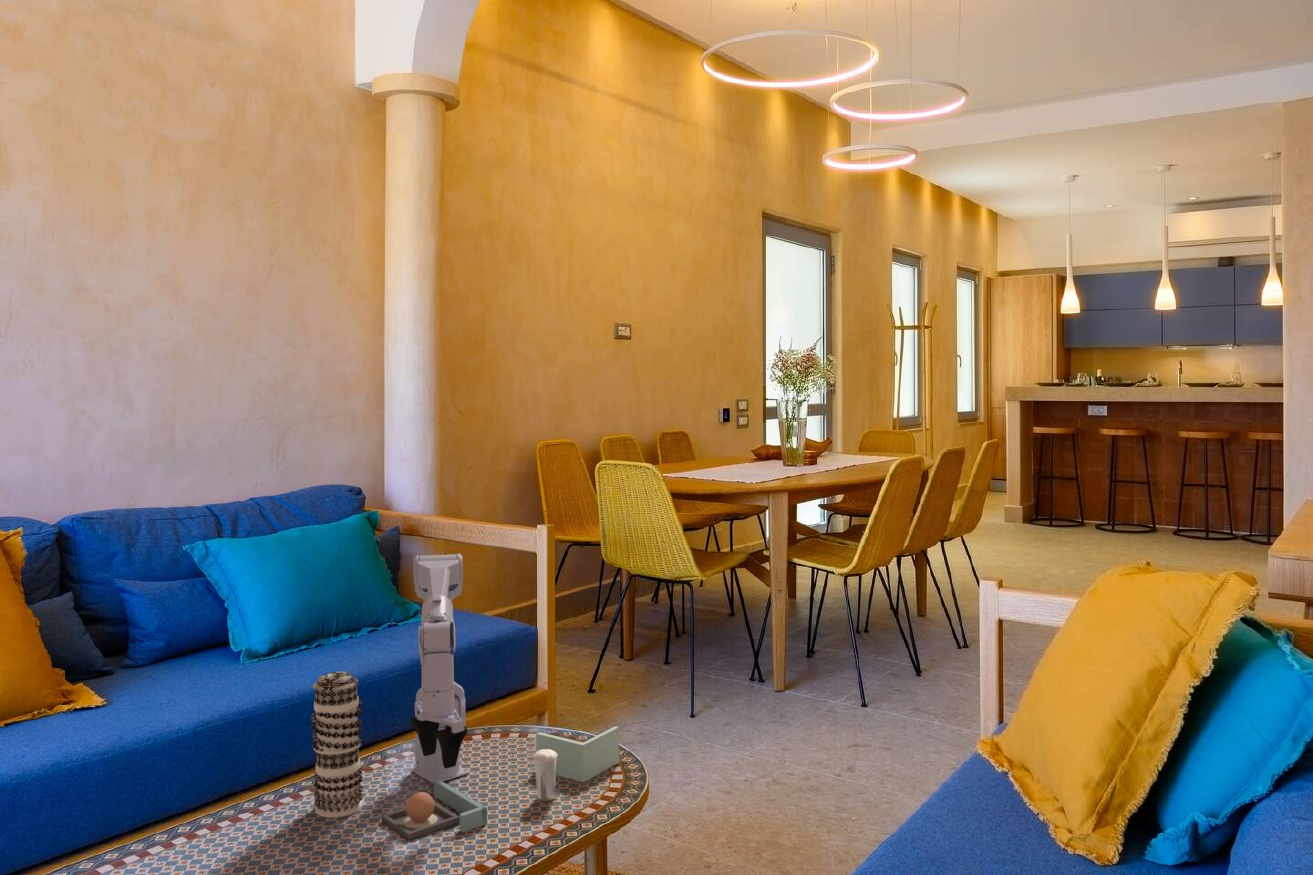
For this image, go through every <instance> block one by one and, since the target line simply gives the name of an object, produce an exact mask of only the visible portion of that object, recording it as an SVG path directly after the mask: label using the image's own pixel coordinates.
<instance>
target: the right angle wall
mask: <svg viewBox="0 0 1313 875" xmlns="http://www.w3.org/2000/svg"><path fill="white" fill-rule="evenodd" d="M619 738H620V728H619V726H613V727H611V728H609V729H607V730H605V731H603V732H602V733H600V734H597V735H596V736H594V737H592V738H589V739H588V740H586V741H582V742H581V741H577V740H575V739H574V740H573V739H570V738H565V737H562V736H557V735H552V734H549V733H545V732H542V731H541V732H540V731H539V732H536V735H535V739H536V741H535V742H536V752H537V751H539V750H542V749H550V750H553V751H555V752H556V753H557V754H558V753H559V754H558V761H557V771H556V776H559V777H563V778H566V779H570V780H573V781H574V780H575V781H577V782H581V783H585V782H587V781H589V780H590V779H592V778H594V777H596V776H598V775H599V774H601V773H603V772H605V771H606V770H608V769H610V768H612V767H614V766H615V765H618V764H619V763H620V739H619ZM560 748H561V750H560ZM559 751H560V752H559Z"/></svg>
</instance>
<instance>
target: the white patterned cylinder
mask: <svg viewBox="0 0 1313 875" xmlns="http://www.w3.org/2000/svg"><path fill="white" fill-rule="evenodd" d="M359 681H360V680H359V679H357V678H355V677H354V676H353V674H351V673H350V672H347V671H332V672H327V673H323V674H322V675H321V676H319V677H318V679H317V681H316V682H314V683H313V684H312V688H313V689H314V702H313V710H314V711H313V713H312V714H311V715H310V716H311V718H310V721H311V727H310V729H311V730H312V731H313V732H312V744H313V745H312V746H311V747H312V748H313V751H314V752H315V753H316V763H315V772H314V775H313V778H314V779H315V781H314V783H313V784H314V785H313V786H314V787H315V790H314V793H313V797H314V798H315V799H314V806H315V809H314V810H315V814H317V815H318V816H319V817H323V818H332V819H333V818H341V817H347V816H350V815H353V814H354V813H357V812H359V811H360V810H361V809H362V807H363V805H364V804H363V799H364V797H363V796H364V794H363V793H362V792H363V788H364V786H363V785H362V782H363V775H362V774H363V767H361V758H360V747H361V746H362V738H360V737H359V736H360V735H361V734H362V733H363V728H362V727H360V726H362V724H363V720H362V719H360V718H359V717H360V716H361V715H363V713H364V711H363V709H362V708H360V707H362V706H363V701H362V700H359V698H360V697H359V694H358V684H359Z"/></svg>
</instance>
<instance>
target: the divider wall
mask: <svg viewBox="0 0 1313 875" xmlns="http://www.w3.org/2000/svg"><path fill="white" fill-rule="evenodd" d="M433 796H434V798H437V799H438V800H439V801H442V802H443V803H445V804H446V805H448V806H450V807H451V808H453V809H454V810H456V811H458V812H459V815H458V816H459V823H460V824H459V832H461V833H462V834H463V833H465V832H469V831H471V830H474V829H476V828H480V827H482V826H485V825H487V824H488V807H486V806H485V805H483V804H481V803H480V802H478V801H476V800H475V799H473V798H471V797H469V796H468V795H466V794H465V793H463V792H461V791H459V790H457V788H454V787H452V786H451V785H449V784H448V783H445V781H443V782H442V781H440V780H439V779H438V780H435V781H434V784H433Z"/></svg>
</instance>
